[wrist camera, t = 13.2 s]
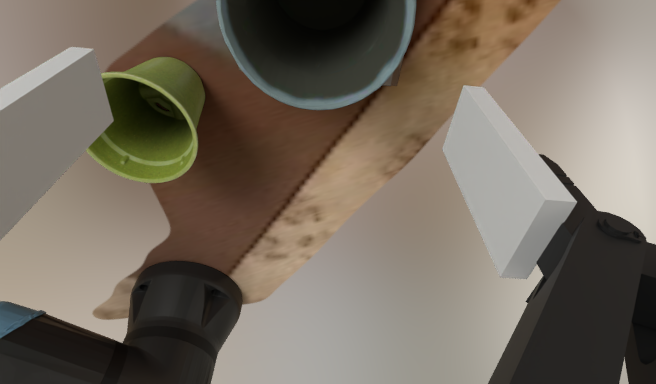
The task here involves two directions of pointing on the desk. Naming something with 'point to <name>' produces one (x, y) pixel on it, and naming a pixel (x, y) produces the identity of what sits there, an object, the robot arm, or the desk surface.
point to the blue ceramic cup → (317, 46)
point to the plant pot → (151, 121)
